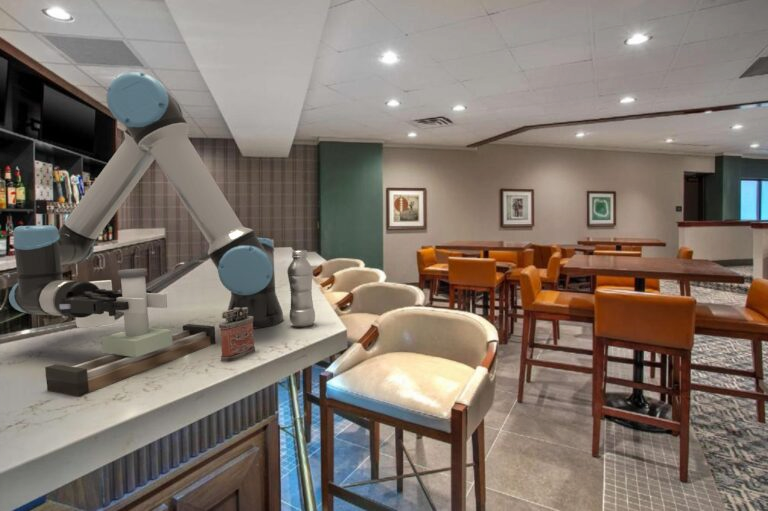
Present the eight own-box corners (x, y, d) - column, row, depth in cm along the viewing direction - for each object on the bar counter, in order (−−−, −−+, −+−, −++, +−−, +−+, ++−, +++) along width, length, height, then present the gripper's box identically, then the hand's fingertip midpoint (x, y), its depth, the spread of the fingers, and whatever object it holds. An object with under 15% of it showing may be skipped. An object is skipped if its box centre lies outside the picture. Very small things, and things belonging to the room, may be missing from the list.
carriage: (140, 340, 86) (134, 267, 85) (172, 344, 83) (167, 267, 82) (102, 352, 79) (95, 271, 77) (136, 357, 75) (129, 272, 74)
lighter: (247, 349, 90) (245, 303, 89) (258, 350, 88) (256, 305, 87) (217, 360, 83) (214, 311, 82) (229, 362, 81) (226, 312, 80)
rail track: (189, 340, 97) (188, 323, 97) (215, 343, 95) (214, 326, 94) (47, 390, 70) (45, 367, 69) (78, 396, 67) (76, 372, 66)
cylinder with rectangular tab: (74, 329, 111) (70, 285, 110) (78, 322, 119) (74, 281, 118) (113, 324, 116) (110, 282, 114) (115, 318, 123) (112, 278, 122)
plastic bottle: (310, 329, 105) (307, 251, 103) (285, 328, 106) (281, 251, 104) (319, 323, 111) (316, 249, 109) (295, 322, 112) (292, 249, 110)
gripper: (113, 307, 95) (191, 312, 87) (27, 326, 79) (113, 334, 71) (110, 275, 94) (188, 277, 86) (23, 287, 78) (109, 291, 70)
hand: (154, 303), depth 78 cm, fingers closed on carriage, 4 cm apart
